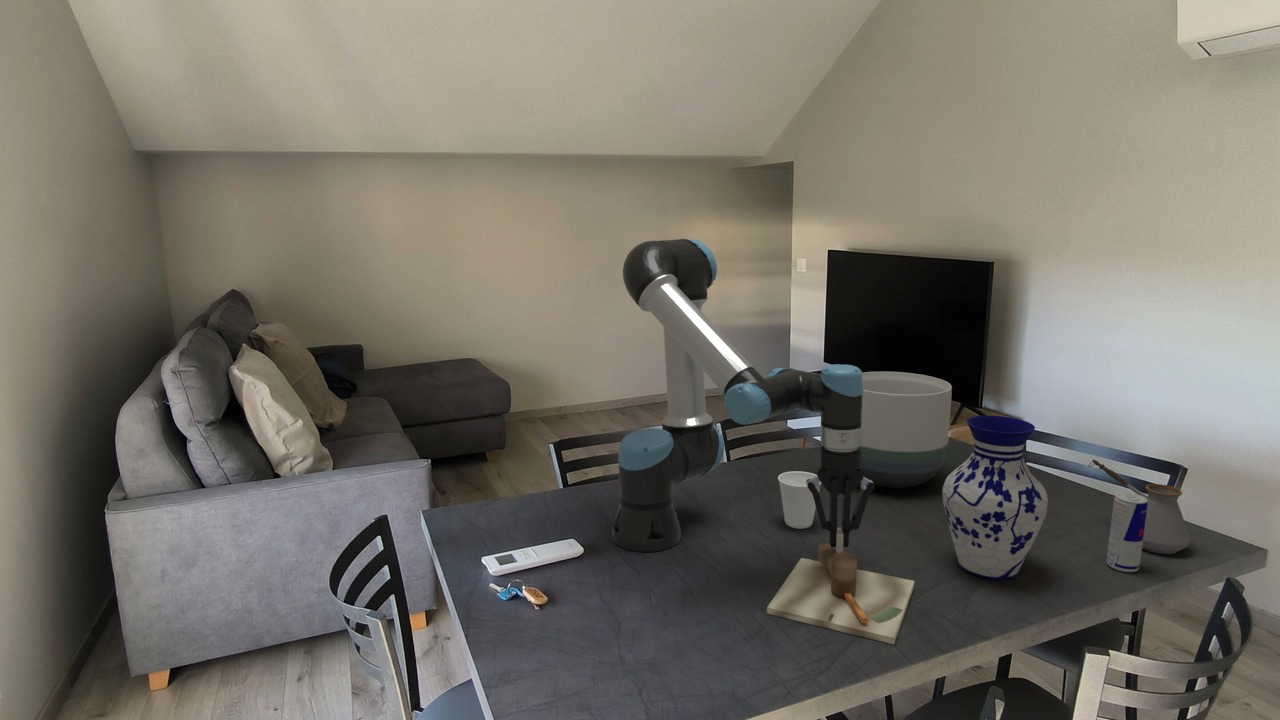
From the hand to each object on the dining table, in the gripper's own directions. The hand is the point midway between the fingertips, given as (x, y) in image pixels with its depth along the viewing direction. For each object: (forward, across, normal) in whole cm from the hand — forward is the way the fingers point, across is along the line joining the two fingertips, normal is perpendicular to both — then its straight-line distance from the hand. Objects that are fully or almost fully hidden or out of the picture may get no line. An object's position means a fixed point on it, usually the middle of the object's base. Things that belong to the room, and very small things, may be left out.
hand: (838, 561), depth 150 cm
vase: (+4, +30, +7) cm, 31 cm away
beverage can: (+5, +57, +9) cm, 58 cm away
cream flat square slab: (+3, 0, -9) cm, 10 cm away
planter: (+4, +21, +54) cm, 59 cm away
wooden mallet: (+2, -1, -9) cm, 9 cm away
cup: (+3, -5, +25) cm, 26 cm away
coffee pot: (+5, +66, +24) cm, 71 cm away
